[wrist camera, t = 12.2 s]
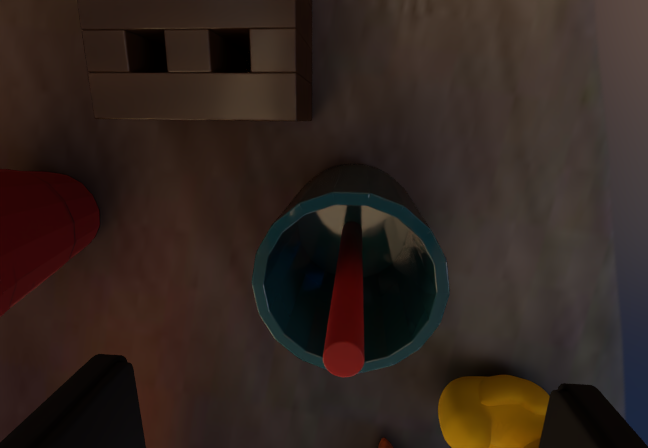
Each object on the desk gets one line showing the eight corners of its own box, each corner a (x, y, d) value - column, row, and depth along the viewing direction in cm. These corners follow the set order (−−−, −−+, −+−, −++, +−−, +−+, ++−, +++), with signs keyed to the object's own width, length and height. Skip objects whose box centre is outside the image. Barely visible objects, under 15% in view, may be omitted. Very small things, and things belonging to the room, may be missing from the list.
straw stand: (135, -66, 22) (56, -131, 16) (312, -72, 21) (294, -143, 15) (155, 118, 25) (93, 118, 19) (311, 120, 24) (296, 121, 18)
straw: (342, 220, 25) (322, 340, 11) (362, 221, 25) (365, 342, 11) (342, 239, 25) (322, 376, 12) (361, 240, 25) (363, 379, 12)
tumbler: (290, 162, 25) (246, 189, 15) (420, 165, 24) (460, 195, 14) (292, 278, 27) (254, 366, 17) (410, 284, 26) (440, 379, 17)
